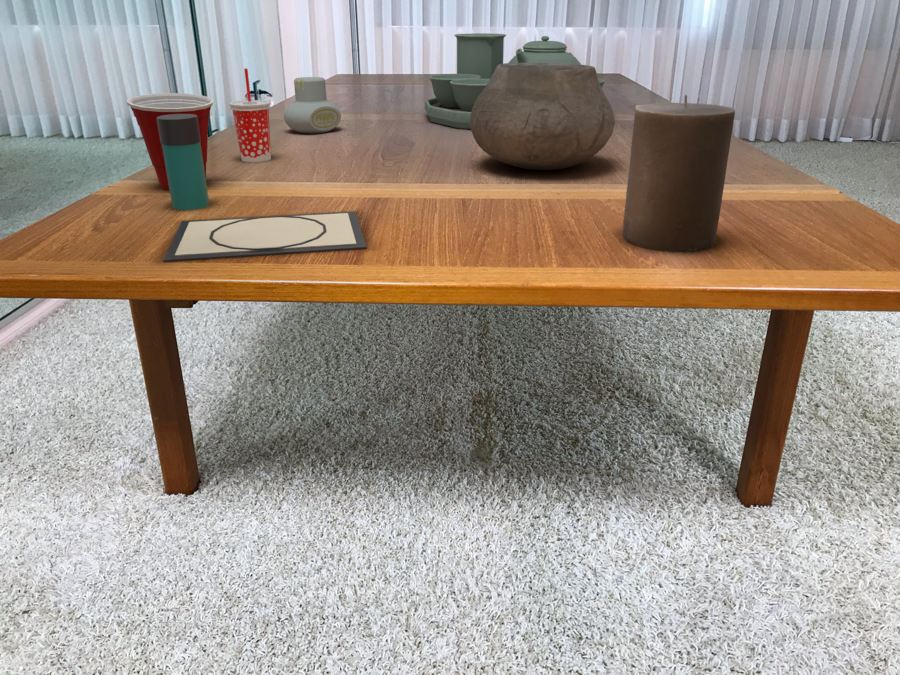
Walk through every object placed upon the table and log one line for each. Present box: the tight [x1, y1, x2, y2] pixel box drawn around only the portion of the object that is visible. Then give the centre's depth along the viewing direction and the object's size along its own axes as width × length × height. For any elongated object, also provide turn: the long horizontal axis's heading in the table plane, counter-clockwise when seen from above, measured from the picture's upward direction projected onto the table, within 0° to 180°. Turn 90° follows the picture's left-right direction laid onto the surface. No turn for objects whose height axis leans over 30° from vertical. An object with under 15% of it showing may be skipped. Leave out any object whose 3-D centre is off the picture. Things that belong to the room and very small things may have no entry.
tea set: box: [424, 32, 606, 130], centre depth 152 cm, size 40×40×16 cm
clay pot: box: [469, 62, 616, 172], centre depth 107 cm, size 22×21×15 cm
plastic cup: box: [126, 92, 214, 192], centre depth 97 cm, size 11×11×12 cm
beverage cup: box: [229, 68, 272, 163], centre depth 113 cm, size 6×6×14 cm
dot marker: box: [156, 114, 210, 211], centre depth 88 cm, size 5×5×11 cm
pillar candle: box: [622, 94, 736, 254], centre depth 74 cm, size 10×10×15 cm
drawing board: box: [162, 210, 368, 263], centre depth 78 cm, size 20×14×1 cm
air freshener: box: [283, 76, 342, 135], centre depth 139 cm, size 11×8×10 cm
